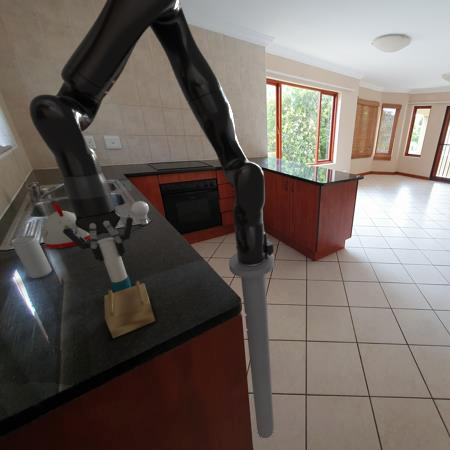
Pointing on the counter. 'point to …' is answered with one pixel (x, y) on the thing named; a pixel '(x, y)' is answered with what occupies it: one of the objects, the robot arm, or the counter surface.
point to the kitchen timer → (60, 229)
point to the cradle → (127, 310)
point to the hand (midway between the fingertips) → (111, 257)
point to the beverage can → (32, 256)
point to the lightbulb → (141, 211)
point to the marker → (114, 264)
